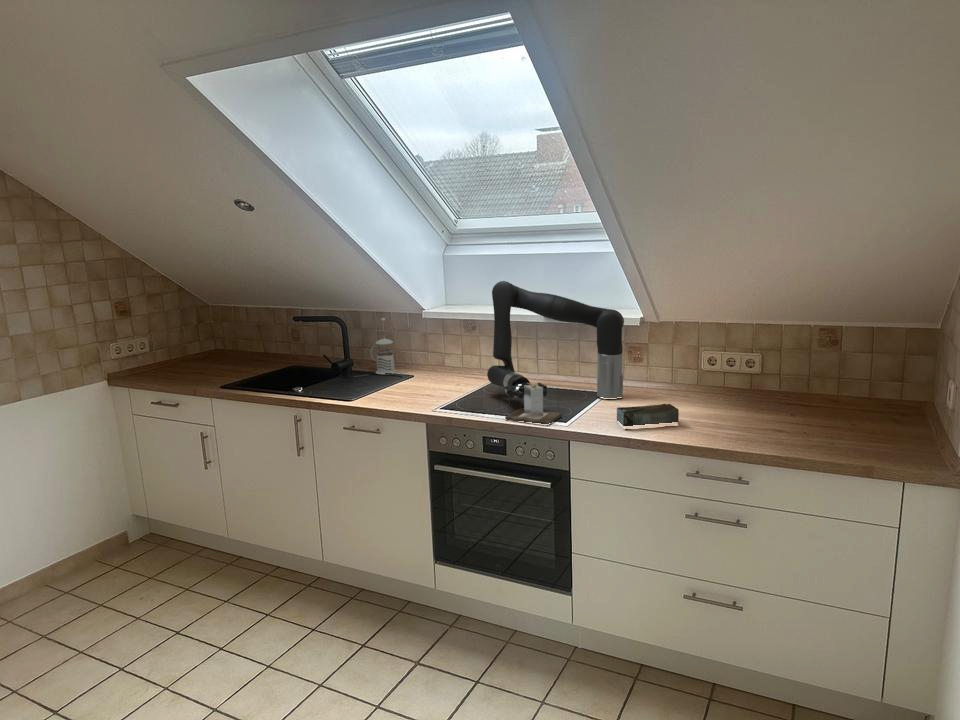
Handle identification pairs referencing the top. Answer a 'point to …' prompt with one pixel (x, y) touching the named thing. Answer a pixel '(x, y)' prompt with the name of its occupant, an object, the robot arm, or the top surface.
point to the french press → (385, 367)
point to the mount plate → (545, 419)
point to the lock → (533, 400)
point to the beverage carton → (647, 414)
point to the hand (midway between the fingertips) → (533, 394)
